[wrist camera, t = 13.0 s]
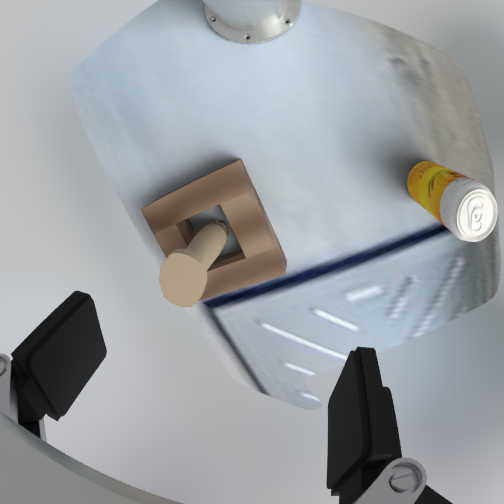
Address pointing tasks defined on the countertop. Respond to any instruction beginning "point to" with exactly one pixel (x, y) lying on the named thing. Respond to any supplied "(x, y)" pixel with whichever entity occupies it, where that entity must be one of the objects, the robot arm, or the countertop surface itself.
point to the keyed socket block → (239, 217)
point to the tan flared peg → (192, 265)
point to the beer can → (453, 200)
